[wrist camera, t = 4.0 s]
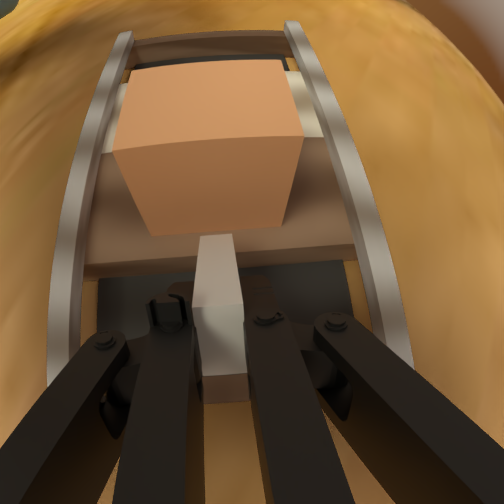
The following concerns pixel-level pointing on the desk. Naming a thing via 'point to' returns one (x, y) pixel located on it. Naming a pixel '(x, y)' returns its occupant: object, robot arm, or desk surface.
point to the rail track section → (245, 240)
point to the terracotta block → (209, 145)
